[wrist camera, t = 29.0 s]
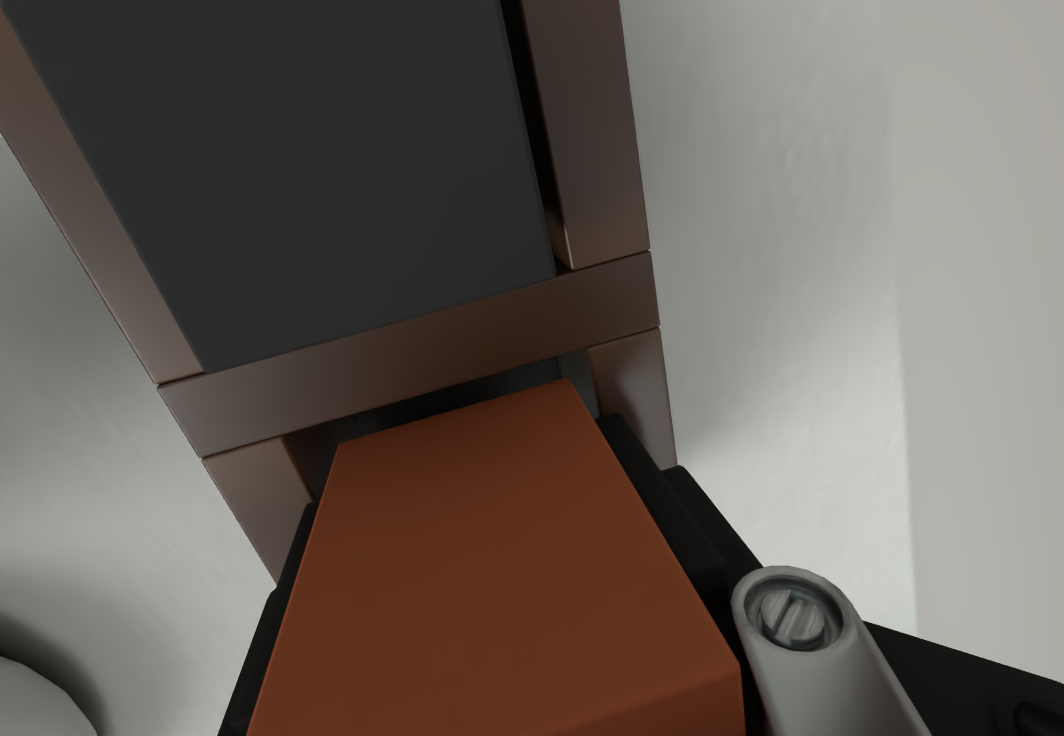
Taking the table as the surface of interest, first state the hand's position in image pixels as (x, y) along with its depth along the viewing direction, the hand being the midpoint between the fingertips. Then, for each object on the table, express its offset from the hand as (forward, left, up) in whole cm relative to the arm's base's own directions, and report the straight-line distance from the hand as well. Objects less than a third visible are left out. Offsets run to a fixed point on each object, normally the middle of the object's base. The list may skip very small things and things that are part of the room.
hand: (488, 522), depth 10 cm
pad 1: (0, +7, -4) cm, 8 cm away
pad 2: (0, 0, -1) cm, 1 cm away
